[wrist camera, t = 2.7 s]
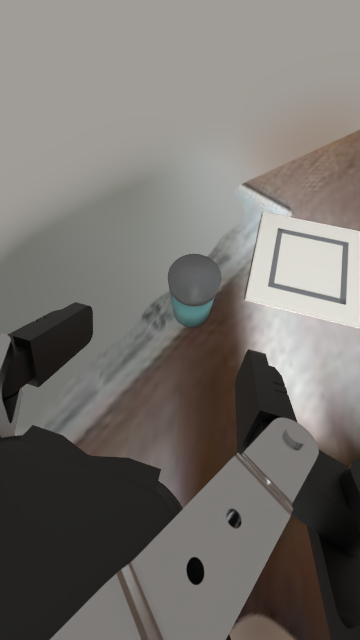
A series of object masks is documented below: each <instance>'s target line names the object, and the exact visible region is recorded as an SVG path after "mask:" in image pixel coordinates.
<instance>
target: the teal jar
mask: <svg viewBox="0 0 360 640" xmlns="http://www.w3.org/2000/svg"><path fill="white" fill-rule="evenodd" d="M168 283H169V289H170V292H171V296H172V304H173V311H174V316H175V318H176V320H177V321H178V322H179V323H180V324H182V325H184V326H186V327H197V326H200V325H201V324H203V323H204V322H205V321H206V320H207V318H208V316H209V313H210V310H211V307H212V304H213V301H214V298H215V296H216V294H217V292H218V289H219V286H220V283H221V273H220V270H219V268H218V266H217V264H216V263H215V262H214V261H213V260H211V259H210V258H208V257H206V256H203V255H199V254H189V255H185V256H183V257H180V258H179V259H177V260H176V261H175V262H174V263H173V264H172V266H171V267H170V269H169V273H168Z"/></svg>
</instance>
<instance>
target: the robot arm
mask: <svg viewBox="0 0 360 640" xmlns="http://www.w3.org/2000/svg"><path fill="white" fill-rule="evenodd" d="M92 335H93V312H92V308H91V307H90V306H87V305H84V304H80V303H73V304H71V305H69V306H68V307H65V308H64V309H61V310H57V311H53V312H51V313H49V314H47V315H45V316H43V318H39V319H37V320H36V321H35V322H34V321H33V322H31V323H29V324H27V325H25V326H23V327H22V328H20V329H18V330H16V331H14V332H12V333H10V334H8V335H6V334H2V333H0V640H231V638H230V636H229V633H230V631H231V629H232V627H233V625H234V623H235V621H236V619H237V617H238V615H239V613H240V612H241V610H242V608H243V606H244V604H245V602H246V600H247V598H248V596H249V594H250V592H251V591H252V589H253V587H254V585H255V583H256V581H257V579H258V577H259V575H260V573H261V571H262V570H263V568H264V566H265V564H266V562H267V560H268V558H269V556H270V554H271V552H272V550H273V549H274V547H275V545H276V543H277V541H278V539H279V537H280V535H281V533H282V531H283V529H284V527H285V526H286V524H287V522H288V520H289V518H290V516H291V515H293V516H294V517H296V518H297V519H298V520H300V521H301V522H302V523H304V524H305V525H307V528H308V532H309V537H310V542H311V547H312V551H313V556H314V561H315V566H316V570H317V575H318V580H319V585H320V590H321V594H322V599H323V604H324V609H325V613H326V618H327V623H328V628H329V632H330V637H331V640H360V460H356V461H354V462H353V463H352V464H351V465H350V466H349V467H348V466H346V465H344V464H342V463H341V462H339V461H337V460H335V459H334V458H332V457H330V456H328V455H327V454H325V453H323V452H322V451H320V450H319V449H318V446H317V443H316V441H315V439H314V438H313V436H312V435H311V434H310V433H309V432H308V431H307V430H306V429H305V428H304V427H303V426H302V425H300V424H299V423H297V420H296V417H295V414H294V411H293V408H292V405H291V402H290V399H289V396H288V395H287V390H286V387H284V386H285V384H284V381H283V378H282V376H281V375H280V373H279V372H278V371H277V370H276V369H275V367H272V366H269V365H268V361H267V357H266V354H264V353H261V352H257V351H253V350H248V351H247V353H246V355H245V357H244V360H243V362H242V365H241V367H240V370H239V372H238V375H237V378H236V383H235V396H236V423H237V451H238V453H237V454H236V455H235V456H234V457H233V458H232V459H231V460H230V461H229V462H228V463H227V464H226V465H225V466H224V467H223V468H222V469H221V470H220V471H219V472H218V473H217V474H216V475H215V477H214V478H213V479H212V480H211V481H210V482H209V483H208V484H207V485H206V486H205V487H204V488H203V489H202V490H201V491H200V492H199V493H198V494H197V495H196V496H195V497H194V498H193V499H192V500H191V501H190V502H189V503H188V504H187V505H186V506H185V507H184V508H182V506H181V505H180V503H179V501H178V500H177V499H176V497H175V496H174V495H173V494H172V492H171V491H170V490H169V489H168V488H167V487H166V486H164V485H163V484H162V483H160V482H159V481H158V479H159V475H160V471H161V469H159V468H156V467H153V466H150V465H147V464H144V463H141V462H138V461H135V460H132V459H130V458H120V457H100V456H90V455H88V454H86V453H85V452H83V451H82V450H81V449H79V448H78V447H77V446H76V445H74V444H73V443H72V442H70V441H69V440H68V439H67V438H65V437H64V436H63V435H60V434H57V433H54V432H51V431H48V430H45V429H42V428H40V427H37V426H34V425H33V426H32V427H31V428H30V429H29V430H28V431H27V432H26V433H25V434H24V435H20V436H15V428H16V423H17V418H18V413H19V409H20V404H21V399H22V395H23V390H22V387H23V386H24V385H25V384H30V385H33V386H36V387H39V386H41V385H42V384H43V383H44V382H45V381H46V380H47V379H49V378H50V377H51V376H52V375H53V374H54V373H55V372H57V371H58V370H59V369H60V368H61V367H62V366H63V365H65V364H66V363H67V362H68V361H69V360H70V359H71V358H72V357H74V356H75V355H76V354H77V353H78V352H79V351H80V350H82V349H83V348H84V347H85V346H86V345H87V344H88V343H89V342H90V340H91V338H92Z"/></svg>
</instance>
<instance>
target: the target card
mask: <svg viewBox="0 0 360 640" xmlns="http://www.w3.org/2000/svg"><path fill="white" fill-rule="evenodd" d="M245 301H249V302H253V303H258V304H262V305H266V306H270V307H274V308H278V309H282V310H286V311H290V312H294V313H298V314H302V315H306V316H310V317H314V318H318V319H322V320H326V321H331V322H335V323H339V324H343V325H347V326H351V327H355V328H359V329H360V231H356V230H351V229H346V228H341V227H336V226H331V225H326V224H321V223H316V222H311V221H306V220H301V219H296V218H291V217H286V216H281V215H276V214H271V213H266V212H263V214H262V218H261V223H260V228H259V232H258V237H257V242H256V247H255V252H254V257H253V262H252V266H251V271H250V276H249V281H248V286H247V291H246V296H245Z"/></svg>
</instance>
